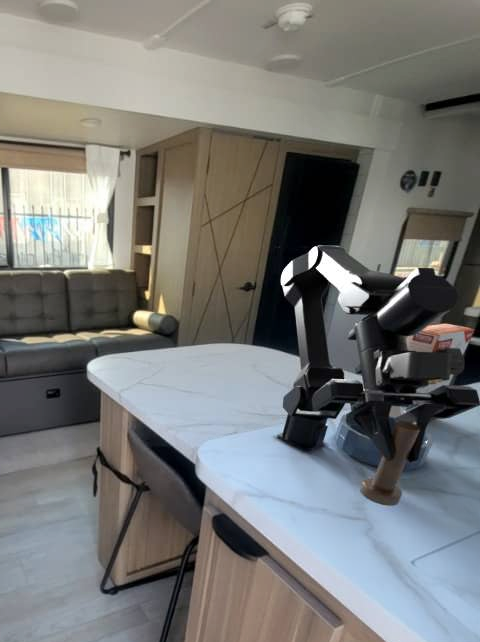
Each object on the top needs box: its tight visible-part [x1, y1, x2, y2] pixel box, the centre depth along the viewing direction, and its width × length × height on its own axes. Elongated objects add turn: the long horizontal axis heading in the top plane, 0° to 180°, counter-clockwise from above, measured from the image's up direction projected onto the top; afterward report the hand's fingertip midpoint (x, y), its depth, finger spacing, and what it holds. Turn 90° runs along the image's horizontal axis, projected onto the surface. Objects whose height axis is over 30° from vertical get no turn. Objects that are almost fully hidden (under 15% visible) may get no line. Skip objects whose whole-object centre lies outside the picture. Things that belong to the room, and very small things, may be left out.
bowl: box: [334, 413, 434, 471], centre depth 77 cm, size 15×15×5 cm
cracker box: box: [389, 323, 475, 418], centre depth 88 cm, size 14×6×21 cm, turn 117°
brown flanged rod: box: [359, 421, 420, 507], centre depth 54 cm, size 5×5×11 cm
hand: (401, 460), depth 52 cm, fingers closed on brown flanged rod, 2 cm apart
